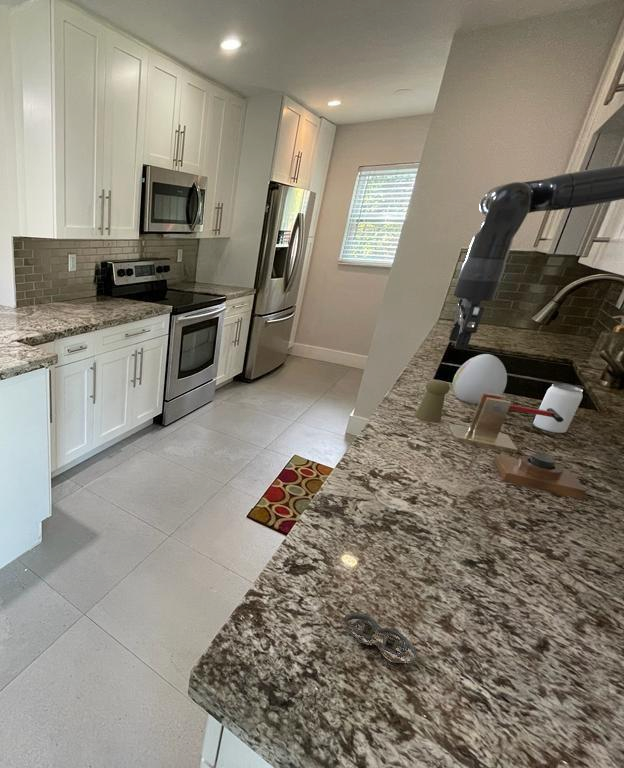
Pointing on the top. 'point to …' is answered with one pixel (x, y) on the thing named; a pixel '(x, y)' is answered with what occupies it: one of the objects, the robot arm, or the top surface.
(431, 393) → the olive pepper shaker
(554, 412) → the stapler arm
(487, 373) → the decorative egg
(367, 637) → the corroded twin loop
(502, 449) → the brass bookend
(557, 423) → the can
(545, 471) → the button block
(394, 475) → the top surface
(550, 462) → the button
